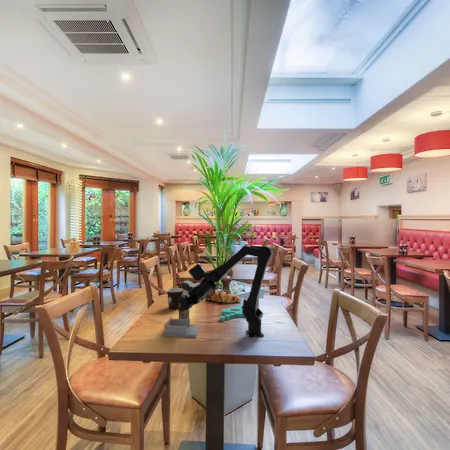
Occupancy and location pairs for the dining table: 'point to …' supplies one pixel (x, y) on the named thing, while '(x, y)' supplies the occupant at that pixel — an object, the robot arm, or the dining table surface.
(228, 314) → the alien figure
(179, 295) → the coffee mug
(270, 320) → the dining table surface
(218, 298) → the croissant
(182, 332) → the seat
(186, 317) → the menu block
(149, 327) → the dining table surface
